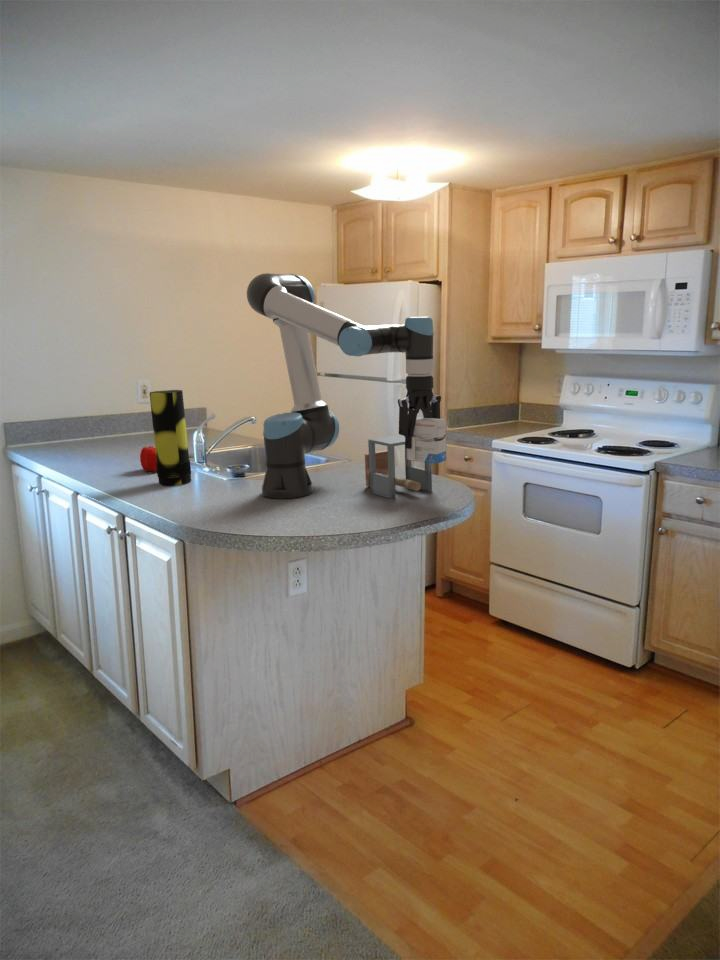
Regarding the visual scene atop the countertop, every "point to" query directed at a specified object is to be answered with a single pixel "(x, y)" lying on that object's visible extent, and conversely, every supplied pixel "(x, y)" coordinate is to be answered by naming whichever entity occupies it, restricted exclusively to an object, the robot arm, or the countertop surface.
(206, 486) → the countertop surface
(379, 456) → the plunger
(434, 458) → the ink box
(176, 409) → the container
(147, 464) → the tomato
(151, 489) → the countertop surface
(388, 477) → the grey open frame holder
